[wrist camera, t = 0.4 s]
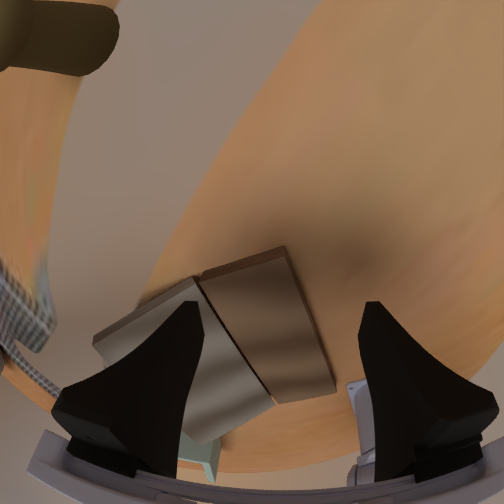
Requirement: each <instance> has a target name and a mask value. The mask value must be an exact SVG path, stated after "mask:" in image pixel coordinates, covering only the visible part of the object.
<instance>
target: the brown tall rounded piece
mask: <svg viewBox="0 0 504 504" xmlns="http://www.w3.org/2000/svg"><path fill="white" fill-rule="evenodd" d="M119 27H120V26H119V22H118V17H117V15H116V14H115V13H114V11H113V10H112V9H110V8H108V7H106V6H101V5H94V4H86V3H77V2H65V1H43V0H0V72H2V71H4V70H5V69H6V68H7V67H9V66H11V67H20V68H28V69H36V70H43V71H49V72H55V73H61V74H66V75H71V76H78V77H80V76H84V75H88V74H90V73H92V72H93V71H95V70H97V69H98V68H99V67H100V66H101V65H102V64H103V63H104V62H105V61H106V60H107V59H108V58H109V56H110V55H111V53H112V51H113V50H114V48H115V45H116V42H117V40H118V37H119Z"/></svg>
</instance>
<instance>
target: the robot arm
mask: <svg viewBox="0 0 504 504" xmlns="http://www.w3.org/2000/svg"><path fill="white" fill-rule="evenodd" d="M204 337H205V333H204V328H203V324H202V319H201V314H200V309H199V304H198V301H184V302H183V303H182V304H181V305H180V306H179V307H178V308H177V309H176V310H175V311H174V312H173V313H172V314H171V315H170V316H169V317H168V318H167V319H166V320H165V321H164V322H163V323H162V324H161V325H160V326H159V327H158V328H157V329H156V330H155V331H154V332H153V333H152V334H151V335H150V336H149V337H148V338H147V339H146V340H145V341H144V342H142V343H141V344H140V345H139V346H138V347H137V348H135V349H134V350H133V351H131V352H130V353H129V354H127V355H126V356H125V357H123V358H122V359H120V360H119V361H117V362H116V363H114V364H113V365H111V366H109V367H108V368H106V369H105V370H103V371H101V372H100V373H97V374H95V375H93V376H92V377H89V378H87V379H85V380H83V381H80V382H78V383H75V384H73V385H70V386H68V387H65V388H63V390H62V391H61V393H60V395H59V397H58V399H57V401H56V402H55V404H54V406H53V408H52V410H51V414H52V416H53V418H54V419H55V420H56V421H57V422H58V423H59V424H60V425H61V426H62V427H63V428H64V429H65V430H66V431H67V432H68V433H69V434H70V435H71V436H72V438H71V440H70V441H68V440H67V439H65V438H63V437H61V436H59V435H57V434H55V433H53V432H51V431H49V430H44V432H43V434H42V436H41V438H40V441H39V443H38V445H37V447H36V449H35V451H34V454H33V456H32V458H31V460H30V463H29V465H28V467H27V470H26V471H27V473H28V474H30V475H31V476H33V477H34V478H36V479H37V480H39V481H41V482H42V483H44V484H46V485H47V486H49V487H51V488H52V489H54V490H56V491H58V492H59V493H61V494H63V495H65V496H67V497H69V498H71V499H72V500H74V501H76V502H79V503H81V504H197V503H196V502H193V501H189V500H194V501H200V502H206V503H213V504H479V503H482V502H483V501H485V500H487V499H489V498H491V497H493V496H495V495H497V494H498V493H500V492H502V491H503V490H504V437H501V438H499V439H497V440H495V441H493V442H491V443H488V444H487V445H485V446H483V447H482V448H481V446H480V443H479V442H481V441H482V439H483V438H482V435H481V432H482V431H483V430H484V429H486V427H488V426H489V425H490V424H491V423H492V422H493V421H494V419H495V418H496V417H497V415H498V413H499V407H498V405H497V402H496V400H495V398H494V395H493V393H492V392H490V391H488V390H486V389H484V388H482V387H479V386H477V385H475V384H473V383H471V382H469V381H468V380H466V379H464V378H463V377H461V376H459V375H458V374H456V373H455V372H453V371H452V370H450V369H449V368H447V367H446V366H444V365H443V364H442V363H441V362H439V361H438V360H437V359H435V358H434V357H433V356H432V355H431V354H429V353H428V352H427V351H426V350H425V349H424V348H423V347H422V346H421V345H420V344H419V343H417V342H416V341H415V340H414V339H413V338H412V337H411V336H410V335H409V334H408V332H407V331H406V330H405V329H404V328H403V327H402V326H401V325H400V324H399V323H398V322H397V321H396V319H395V318H394V317H393V316H392V315H391V314H390V313H389V312H388V310H387V309H386V308H385V307H384V306H383V305H382V304H381V303H380V302H379V301H374V302H366V305H365V309H364V313H363V317H362V321H361V325H360V329H359V333H358V341H359V349H360V356H361V360H362V364H363V368H364V372H365V376H366V378H365V379H361V380H357V381H354V382H350V383H348V384H347V385H346V387H347V390H348V394H349V397H350V400H351V404H352V407H353V411H354V414H355V417H356V419H357V426H358V434H359V442H360V451H361V456H359V457H357V464H356V465H353V466H352V468H351V470H350V471H349V473H348V476H347V487H340V488H330V489H315V490H256V489H241V488H230V487H221V486H213V485H206V484H200V483H193V482H188V481H183V480H178V479H176V474H177V461H178V451H179V443H180V436H181V429H182V423H183V417H184V412H185V407H186V402H187V398H188V394H189V391H190V388H191V385H192V382H193V379H194V376H195V373H196V370H197V367H198V363H199V360H200V357H201V353H202V348H203V343H204ZM350 387H352V388H350ZM182 498H184V499H182ZM186 499H189V500H186Z"/></svg>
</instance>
